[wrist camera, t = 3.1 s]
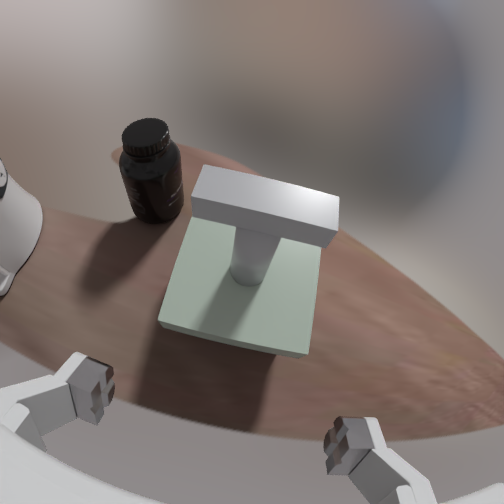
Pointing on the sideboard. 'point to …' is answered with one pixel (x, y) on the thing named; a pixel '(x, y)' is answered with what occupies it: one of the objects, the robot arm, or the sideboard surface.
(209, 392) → the sideboard surface
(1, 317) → the sideboard surface
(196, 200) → the t-shaped pedestal stand
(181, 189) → the supplement bottle
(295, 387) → the sideboard surface
